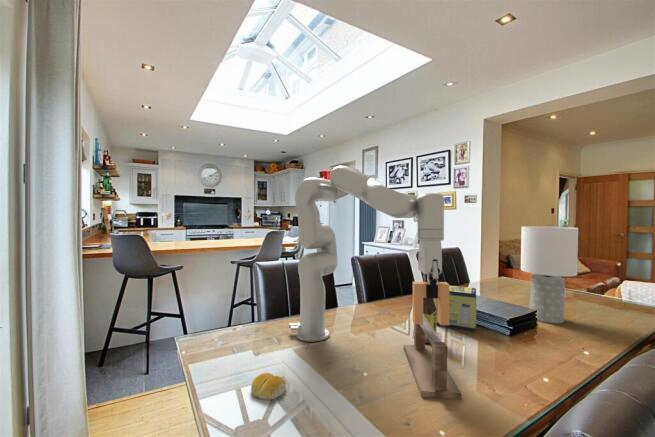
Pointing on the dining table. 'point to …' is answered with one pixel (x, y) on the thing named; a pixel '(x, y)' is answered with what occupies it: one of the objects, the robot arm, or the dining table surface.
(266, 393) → the bread roll
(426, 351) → the rail stand
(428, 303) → the sauce bottle
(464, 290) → the protein box
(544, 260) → the lamp
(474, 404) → the dining table surface
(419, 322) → the wooden arch block
